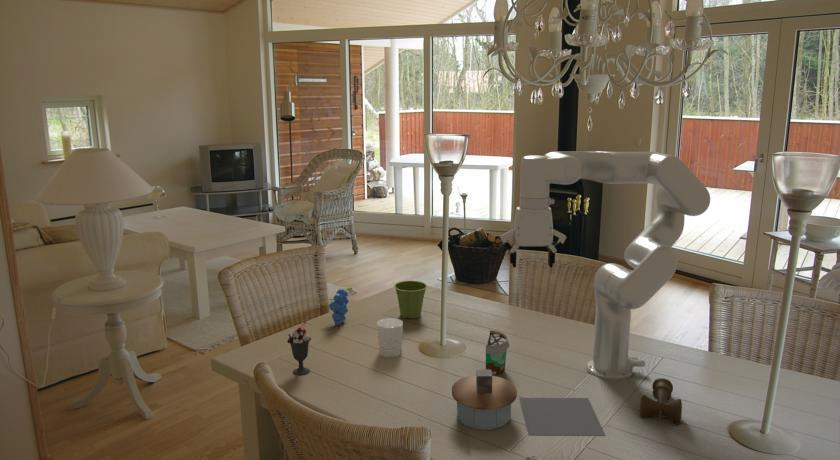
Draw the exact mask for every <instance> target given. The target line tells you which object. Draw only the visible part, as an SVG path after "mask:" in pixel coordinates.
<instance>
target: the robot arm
mask: <svg viewBox="0 0 840 460" xmlns="http://www.w3.org/2000/svg"><path fill="white" fill-rule="evenodd" d="M519 167H520V169H519V170H520V172H519V174H520V175H519V206H517V207H516V208H515V213H514V219H513V228H511V229H510V230H509V231H506V232H504V233H502V234H501V235H499V238H500V241H501V242H502V244H503V246H504V247H505V249H507V250H508V251H509V264H510V265H511V264H512V265H511V266H512V268H517V252H516V251H517V250H518V248H520V247H547V248H548V252H547V253H548V255H547V265H548V266H549V268H553V265H554V264H555V263H556V253H557V251H558V250H559V249H560V248H562V247H563V245H564V243H565V241H566V239H567V236H566V235H565V234H564V233H561V232H560V231H558V230H556V229H554V223H553V214H552V208H551V207H550V206H551V205H554V204H555V198H551V197H550V184H556V185H565V186H567V185H572V184H574V183H576V182H578V181H579V180H587V181H588V180H589V181H591V182H597V183H600V184H601V183H603V184H610V185H619V184H620V185H622V184H637V185H638V184H652V185H655V186H658V187H657V190H656V197H655V198H656V212H655V215H654V217H653V219H652V220H651V221H650V223H649V224H648V225H647V226H646V227H644V229H643V230H642V231H640V233H639V234H638V235H637V236H636V237H635V238H634V239H633V241H631V242H630V243H629V245H628V246H627V247H626V248H625V251H624V253H623V254H624V255H623V256H624V260H625V262H626V263H627V264H628V266H630V267H631V268H632V269H633V270H631V269H629V268H627V267H625V266H623V265H622V264H618V263H613V262H612V263H611V262H610V263H609V262H608V263H606V264H603V265H602V266H600V267H599V268H598V269H597V270H596V273H595V275H594V281H593V286H594V287H593V288H594V296H595V319H594V333H593V334H594V335H593V350H592V352H593V354H592V359H591V360H589V361H588V362H587V363H586V369H587V372H589V373H590V375H594V376H595V377H598V378H602V379H606V380H613V381H614V380H615V381H616V380H624V379H628V378H630V377H632V375H633V373H634V371H633V369H634V367H638V368H639V367H641V368H645V366H646V362H645V360H644V359H638V357H637V356H634V357H633V356H632V357H630V356H629V347H630V344H629V343H630V331H631V319H632V315H631V314H632V310H636V309H639V308H641V307H642V306H644V305H645V304H646V303H648V302H649V301H650V300H651V299H652V298H653V297H654V296H655V295H656V294H657V293H658V292H659V291H660V290H661V289H662V288H663V287H664V286H665V285H666V283H667V282H669V280H670V279H671V278H672V277H673V276H674V275H675V273H676V270H677V269H678V264H679V258H678V255H677V253H676V250H674V249H673V248H672V247H673V246H674V244H676V242H677V241H678V240H679V239H680V237H681V236H682V233H683V232H684V228H685V215H686V216H689V217H698V216H701V215H702V214H704V213H705V212H706V211H707V210H708V209H709V207H710V204H711V196H710V191H709V190H708V188H707V187H706V186H705V185H704V184H703V182H702V181H701V180H700V179H699V178H698V177H697V175H695V173H694V172H693V170H691V169H690V168H689V167H688V166H687V164H686V163H685V162H683V160H682V159H680V158H679V157H677V156H676V155H673V154H668V153H663V152H657V151H578V150H575V151H574V150H573V151H572V150H571V151H569V150H568V151H566V150H565V151H561V150H560V151H551V152H548V153H545V154H544V155H536V154H533V155H532V154H531V155H525V156H523V157H522V158H521V160H520V166H519ZM554 236H555V237H557V238H558V240H557V242H555V243H554ZM510 237H512V238H513V239H512V240H513V242H512V243H511V244H510V243H509V242H508V240H507V239H509V238H510ZM553 243H554V244H553Z"/></svg>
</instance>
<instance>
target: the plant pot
mask: <svg viewBox="0 0 840 460" xmlns="http://www.w3.org/2000/svg"><path fill="white" fill-rule="evenodd" d="M393 287H394V289H395V292H396V293H395V294H396V295H397V303H398V307H399V314H400V316H401V317H402V318H404V319H412V320H413V319H416V318H417V319H418V318H420V317H421V315H422V310H423V305H424V304H423V303H424V296H425V294H426V290H427V288H428V284H427V283H425V282H422V281H420V280H419V281H418V280H403V281H399V282H396V283H395V284H393Z"/></svg>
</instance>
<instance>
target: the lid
mask: <svg viewBox="0 0 840 460" xmlns="http://www.w3.org/2000/svg"><path fill="white" fill-rule="evenodd" d="M517 391H518V389H517V388H516V385H514V384H513V383H512V382H511V381H509V380H507V379H505V378H502V377H500V376H497V375H494V376H492V372H491V370H486V369H476V375H475V374H474V375H468V376H465V377H462V378H460V379H458V380H457V381H455V382H454V383H453V384H452V386H451V395H452V398H453V399H454V400H455V401H456V403H457V402H458V403H460V404H462V405H464V406H467V407H470V408H474V409H482V410H492V409H499V408H503V407H506V406H508V405H510V404H511V405H512V404H513V403H514V402H515V401H516V399H517V394H518V393H517Z"/></svg>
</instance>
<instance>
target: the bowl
mask: <svg viewBox="0 0 840 460" xmlns="http://www.w3.org/2000/svg"><path fill="white" fill-rule="evenodd" d="M456 412H457V413H456V414H457V417H456V418H457V420H458V422H459V423H460V424H461V425H462V426H463V427H466V428H468V429H469V428H473V429H476V430H494V429H495V430H496V429H499V428H502V427H503V426H505V425H507V424H508V423H509V421H510V420H511V419H512V404H510V405H508V406H506V407H503V408H499V409H492V410H482V409H474V408H470V407H467V406H464V405H462V404H460V403H458V402H457V401H456Z"/></svg>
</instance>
